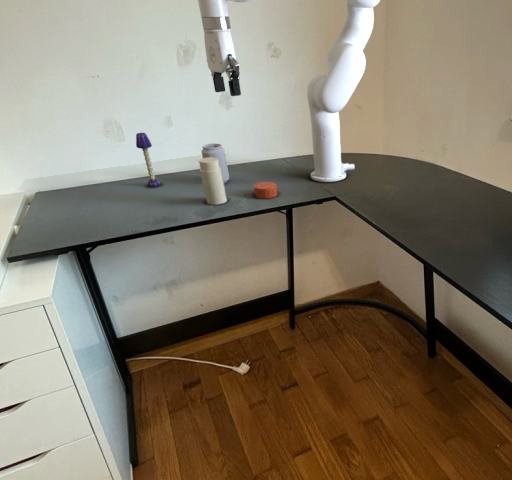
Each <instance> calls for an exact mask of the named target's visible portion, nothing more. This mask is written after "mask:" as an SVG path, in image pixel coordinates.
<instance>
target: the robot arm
mask: <svg viewBox="0 0 512 480" xmlns="http://www.w3.org/2000/svg"><path fill="white" fill-rule="evenodd" d="M228 1H229V2H234V3H246V2H248V1H249V0H197V2H198V6H199V12H200V17H201V18H200V19H201V24H202V30H203V38H204V48H205V56H206V63H207V68H208V69H209V70H210V72H211V77H212V82H213V88H214V92H215V93H223V92H226V85H225V79H224V76H222V75H223V74H226V76H227V78H228V81H227V82H228V88H229V95H230V97H238V96H239V97H240V96H241V95H242V91H241V84H240V78H241V77H240V63H239V62H238V60H237V56H236V50H235V46H234V41H233V37H232V33H231V32H232V28H231V20H230V14H229V8H228ZM380 2H381V0H345V3H346V9H347V11H346V12H347V13H346V18H345V21H344V23H343V25H342V28H341V29H340V32H339V34H338V35H337V37H336V39H335V40H334V43H333V45H332V46H331V48H330V49H329V51H328V54H327V57H326V64H327V68H328V70H329V71H328V72H327V74H317V75H315V76H313V78H311V79H310V81H309V83H308V86H307V89H306V96H307V103H308V109H309V116H310V124H311V125H310V126H311V139H312V140H311V141H312V153H313V155H312V156H313V167H314V171H311V173H310V179H311V180H313V181H316V182H321V183H333V182H334V183H335V182H339V181H342V180H344V179H346V177H347V173H346V172H347V171H355V169H356V167H355V163H349V162H346V163H343V162H342V150H341V149H342V147H341V123H340V122H341V121H340V120H341V119H340V114H339V112H342V110H343V109H344V108H345V106H346V105H347V103H348V102H349V100H350V99H351V97H352V96H353V93H354V92H355V90H356V88H357V86H358V85H359V83H360V81H361V79H362V78H363V75H364V74H365V71H366V65H367V64H366V63H367V60H366V55H365V53H364V50H365V48H366V45H367V44H368V42H369V40H370V38H371V34H372V32H373V29H374V23H375V22H374V21H375V13H374V7H377V5H379V3H380Z"/></svg>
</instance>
